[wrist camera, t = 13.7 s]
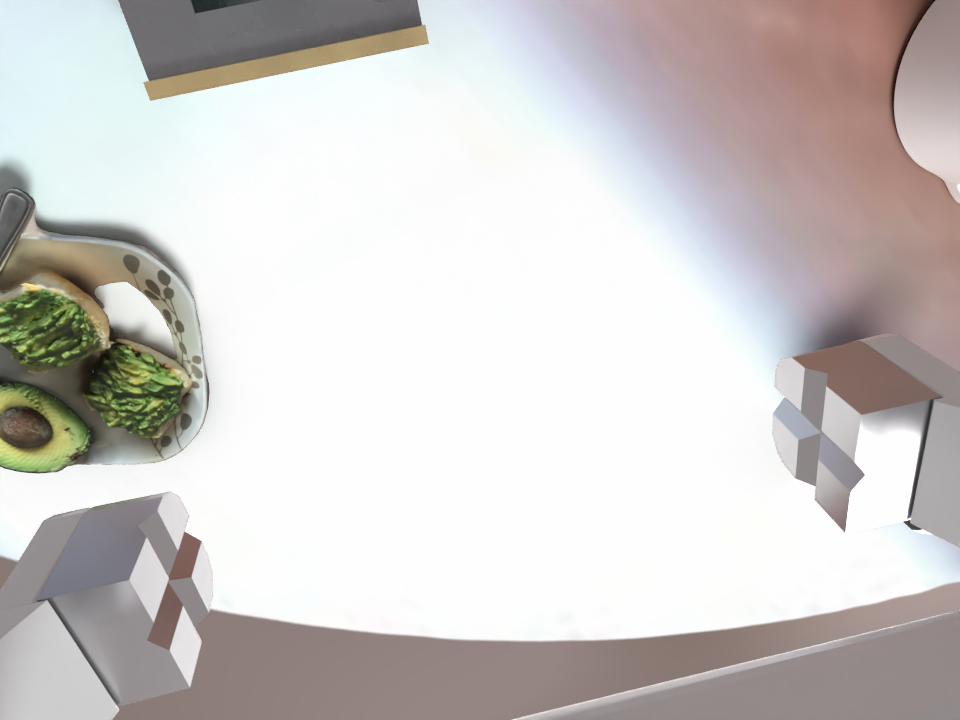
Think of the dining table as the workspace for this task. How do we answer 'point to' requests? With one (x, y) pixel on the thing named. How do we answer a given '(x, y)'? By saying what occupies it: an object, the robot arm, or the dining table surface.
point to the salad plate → (89, 352)
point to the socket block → (260, 37)
